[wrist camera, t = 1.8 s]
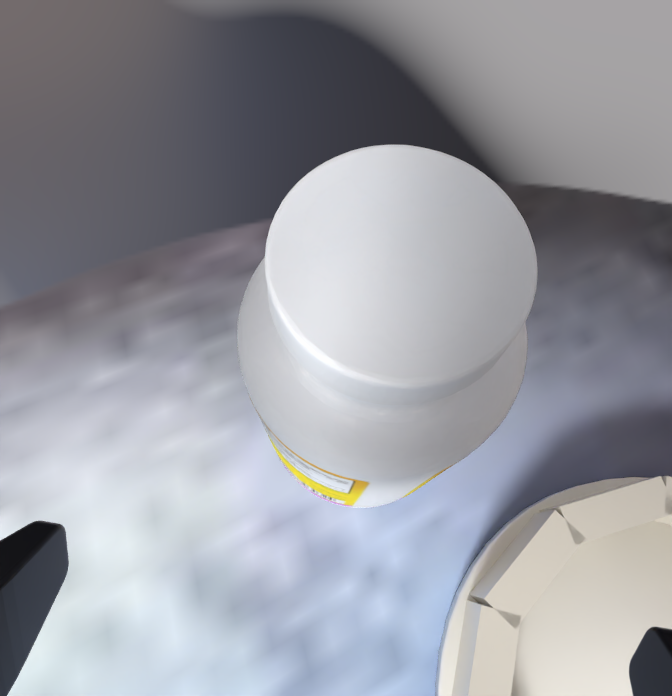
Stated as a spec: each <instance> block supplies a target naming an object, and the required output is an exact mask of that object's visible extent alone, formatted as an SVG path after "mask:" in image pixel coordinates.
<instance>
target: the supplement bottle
mask: <svg viewBox="0 0 672 696" xmlns="http://www.w3.org/2000/svg"><path fill="white" fill-rule="evenodd" d="M537 274H538V268H537V257H536V252H535V247H534V243H533V241H532V238H531V235H530V232H529V229H528V227H527V225H526V223H525V221H524V219H523V217H522V216H521V214H520V212H519V211H518V209H517V208H516V206H515V205H514V204H513V202H512V201H511V199H510V198H509V197H508V196H507V194H506V193H505V192H504V191H503V190H502V189H501V188H500V187H499V186H498V185H497V184H496V183H495V182H494V181H492V180H491V179H490V178H489V177H488V176H486V175H485V174H484V173H482V172H481V171H479V170H478V169H476V168H475V167H473V166H471V165H470V164H468V163H466V162H464V161H462V160H460V159H458V158H455V157H453V156H451V155H448V154H445V153H442V152H439V151H435V150H431V149H427V148H422V147H416V146H409V145H379V146H370V147H365V148H360V149H357V150H352V151H350V152H347V153H344V154H342V155H339V156H337V157H335V158H332V159H331V160H329V161H326V162H325V163H323V164H321V165H319V166H318V167H316V168H315V169H314V170H312V171H311V172H309V173H308V174H307V175H306V176H305V177H303V178H302V179H301V180H300V181H299V182H298V183H297V184H296V185H295V186H294V187H293V188H292V189H291V190H290V192H289V193H288V194H287V196H286V197H285V198H284V200H283V201H282V203H281V205H280V207H279V209H278V210H277V212H276V214H275V216H274V219H273V221H272V223H271V226H270V229H269V233H268V237H267V241H266V250H265V257H264V258H263V260H262V261H261V263H260V264H259V266H258V267H257V269H256V271H255V272H254V274H253V276H252V278H251V279H250V282H249V284H248V286H247V289H246V291H245V294H244V296H243V300H242V304H241V308H240V312H239V317H238V326H237V344H238V357H239V364H240V368H241V373H242V376H243V380H244V383H245V385H246V388H247V391H248V394H249V396H250V399H251V401H252V403H253V405H254V407H255V409H256V411H257V413H258V415H259V417H260V419H261V421H262V423H263V425H264V428H265V430H266V432H267V434H268V436H269V438H270V440H271V442H272V444H273V446H274V448H275V450H276V453H277V454H278V456H279V458H280V460H281V462H282V463H283V465H284V466H285V468H286V469H287V470H288V472H289V473H290V474H291V475H292V476H293V477H294V479H295V480H296V481H297V482H298V483H299V484H300V485H302V486H303V487H304V488H305V489H306V490H308V491H309V492H311V493H312V494H314V495H316V496H317V497H319V498H321V499H323V500H326V501H328V502H330V503H333V504H337V505H340V506H345V507H352V508H371V507H377V506H382V505H386V504H389V503H392V502H395V501H397V500H399V499H401V498H403V497H405V496H407V495H409V494H411V493H412V492H414V491H415V490H417V489H418V488H420V487H421V486H423V485H424V484H426V483H427V482H428V481H430V480H431V479H433V478H435V477H436V476H437V475H439V474H440V473H442V472H443V471H445V470H446V469H448V468H449V467H451V466H453V465H454V464H456V463H457V462H459V461H461V460H462V459H464V458H465V457H467V456H468V455H469V454H470V453H471V452H473V451H474V450H475V449H477V448H478V447H479V446H480V445H481V444H483V443H484V442H485V441H486V440H487V439H488V438H489V437H490V436H491V434H492V433H493V432H494V431H495V430H496V429H497V428H498V426H499V425H500V424H501V423H502V421H503V420H504V419H505V417H506V415H507V414H508V412H509V410H510V409H511V407H512V405H513V403H514V401H515V399H516V397H517V394H518V392H519V389H520V386H521V383H522V380H523V376H524V371H525V366H526V359H527V348H528V342H527V329H526V323H525V322H526V320H527V318H528V315H529V313H530V310H531V308H532V305H533V301H534V297H535V293H536V287H537Z"/></svg>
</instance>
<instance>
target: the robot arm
mask: <svg viewBox="0 0 672 696" xmlns="http://www.w3.org/2000/svg"><path fill="white" fill-rule="evenodd" d="M68 564H69V561H68V551H67V541H66V532H65V528H64V527H63V526H62V525H61V524H57V523H51V522H46V521H35V522H32V523H30V524H29V525H27V526H25V527H23V528H22V529H20V530H18V531H16V532H15V533H13V534H11V535H9V536H8V537H6V538H4V539H2V540H1V541H0V696H7V695H8V693H9V691H10V689H11V688H12V686H13V684H14V682H15V681H16V679H17V677H18V675H19V673H20V671H21V669H22V667H23V665H24V663H25V661H26V659H27V657H28V655H29V653H30V651H31V649H32V647H33V645H34V642H35V640H36V638H37V636H38V634H39V632H40V630H41V628H42V626H43V624H44V622H45V619H46V617H47V615H48V613H49V611H50V609H51V607H52V605H53V603H54V601H55V598H56V596H57V594H58V592H59V590H60V588H61V586H62V584H63V582H64V580H65V577H66V574H67V571H68ZM629 678H630V683H631V688H632V693H633V696H672V629H667V628H661V627H651V628H649V629H648V630H647V631H646V633H645V634H644V636H643V638H642V640H641V642H640V644H639V645H638V647H637V649H636V651H635V653H634V654H633V656H632V658H631V661H630V664H629Z"/></svg>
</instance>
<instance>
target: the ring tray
mask: <svg viewBox="0 0 672 696" xmlns="http://www.w3.org/2000/svg"><path fill="white" fill-rule="evenodd" d="M651 627H661V628H667V629H672V477H670V476H663V477H661V476H658V477H653V478H641V477H628V478H616V479H606V480H601V481H597V482H592V483H588V484H583V485H579V486H575V487H571V488H568V489H565V490H563V491H560V492H558V493H555V494H552V495H550V496H547V497H545V498H543V499H541V500H540V501H538V502H536V503H534V504H533V505H531V506H529V507H527V508H526V509H524V510H523V511H521V512H520V513H519V514H517V515H516V516H515V517H514V518H512V519H511V520H510V521H508V522H507V523H506V524H505V525H503V526H502V528H501V529H500V530H499V531H498V532H497V533H496V534H495V535H494V536H493V537H492V538H491V539H490V540H489V541H488V542H487V543H486V544H485V546H484V547H483V548H482V550H481V551H480V553H479V554H478V555H477V557H476V558H475V560H474V561H473V562H472V564H471V565H470V567H469V569H468V570H467V572H466V574H465V576H464V578H463V580H462V582H461V584H460V586H459V588H458V590H457V591H456V594H455V597H454V599H453V602H452V605H451V607H450V610H449V613H448V616H447V618H446V622H445V626H444V630H443V635H442V639H441V643H440V647H439V653H438V662H437V671H436V681H435V696H633V693H632V688H631V683H630V678H629V664H630V661H631V658H632V656H633V654H634V653H635V651H636V649H637V647H638V645H639V644H640V642H641V640H642V638H643V636H644V634H645V633H646V631H647V630H648V629H649V628H651Z"/></svg>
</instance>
